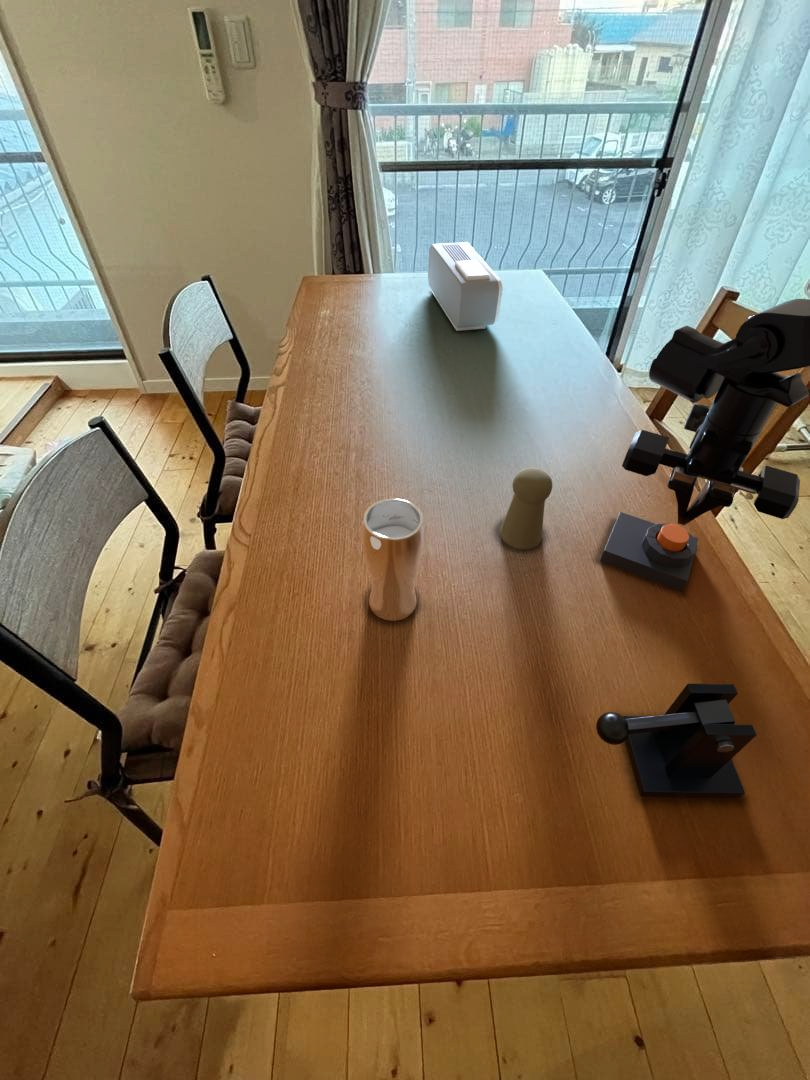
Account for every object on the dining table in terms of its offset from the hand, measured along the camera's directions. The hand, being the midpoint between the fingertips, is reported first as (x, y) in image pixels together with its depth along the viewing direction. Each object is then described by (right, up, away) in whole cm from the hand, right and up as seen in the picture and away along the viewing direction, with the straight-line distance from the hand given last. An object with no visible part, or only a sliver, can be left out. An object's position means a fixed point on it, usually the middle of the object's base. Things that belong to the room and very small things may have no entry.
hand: (681, 522), depth 72 cm
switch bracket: (-8, -25, -14) cm, 30 cm away
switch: (-11, -21, -19) cm, 30 cm away
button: (0, -3, +3) cm, 4 cm away
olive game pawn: (-19, -2, +9) cm, 21 cm away
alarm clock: (-23, +53, +62) cm, 85 cm away
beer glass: (-38, -10, -1) cm, 39 cm away
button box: (-2, -4, +6) cm, 8 cm away
